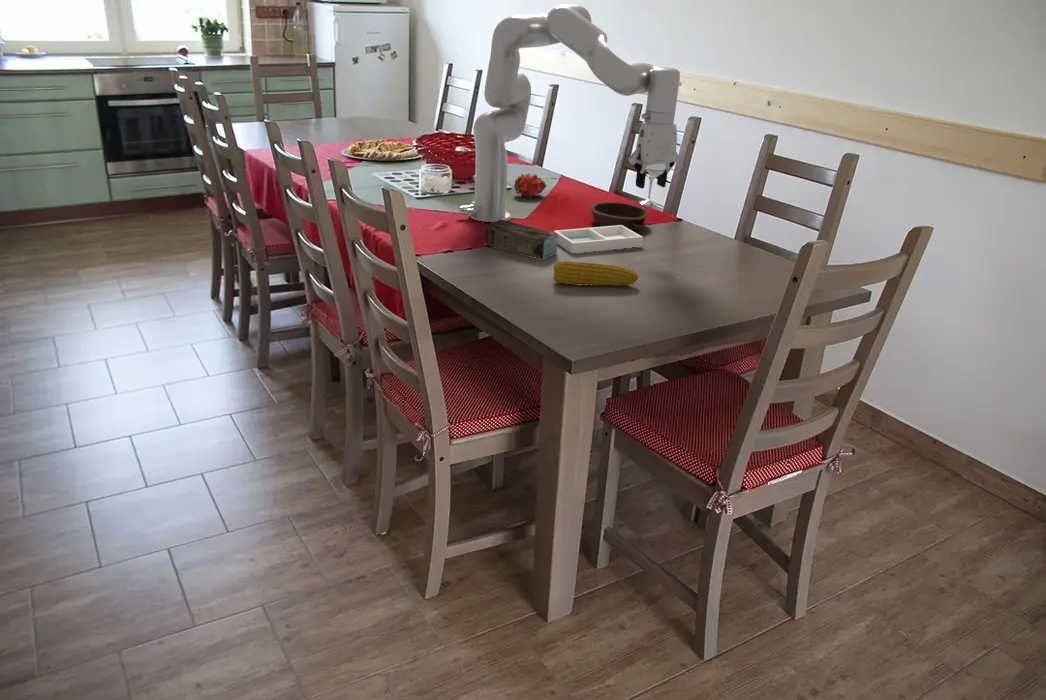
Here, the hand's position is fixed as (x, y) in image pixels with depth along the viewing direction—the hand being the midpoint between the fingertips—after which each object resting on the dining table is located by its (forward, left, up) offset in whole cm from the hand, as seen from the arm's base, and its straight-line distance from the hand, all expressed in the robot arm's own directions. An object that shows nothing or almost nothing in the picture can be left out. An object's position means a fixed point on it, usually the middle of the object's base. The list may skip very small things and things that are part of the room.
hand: (650, 186), depth 222 cm
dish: (+8, +27, -20) cm, 34 cm away
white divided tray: (-8, +11, -19) cm, 24 cm away
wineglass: (0, 0, -5) cm, 5 cm away
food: (-25, -17, -20) cm, 36 cm away
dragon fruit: (-5, +63, -19) cm, 66 cm away
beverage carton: (-31, +13, -20) cm, 39 cm away
